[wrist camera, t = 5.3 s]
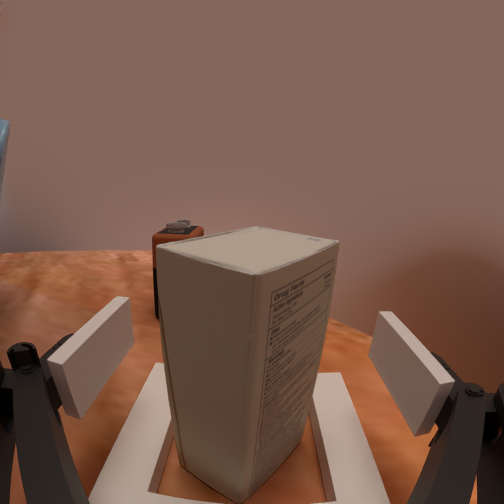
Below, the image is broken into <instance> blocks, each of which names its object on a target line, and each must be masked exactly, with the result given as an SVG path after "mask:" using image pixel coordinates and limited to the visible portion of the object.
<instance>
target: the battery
mask: <svg viewBox="0 0 504 504" xmlns="http://www.w3.org/2000/svg"><path fill="white" fill-rule="evenodd" d="M166 226H167V227H166V228H164V229H163V230H161V231H159V232H157V233H156V234H154V235H153V237H152V251H153V281H154V300H155V314H156V317H157V318H159V304H158V285H157V267H156V246H157V245H160V244H165V243H169V242H176V241H182V240H187V239H191V238H197V237H202V236H203V235H204V230H203V228H202V227H200V226H191V225H190V220H177V222H171V223H167V224H166Z"/></svg>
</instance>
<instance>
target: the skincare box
mask: <svg viewBox="0 0 504 504" xmlns="http://www.w3.org/2000/svg"><path fill="white" fill-rule="evenodd" d="M338 251H339V241H338V240H331V239H325V238H319V237H313V236H307V235H302V234H297V233H291V232H286V231H281V230H275V229H269V228H264V227H259V226H255V227H251V228H245V229H239V230H233V231H229V232H223V233H217V234H213V235H206V236H202V237H197V238H191V239H187V240H182V241H176V242H169V243H165V244H160V245H157V246H156V267H157V285H158V304H159V319H160V332H161V343H162V352H163V361H164V370H165V378H166V385H167V393H168V400H169V407H170V413H171V419H172V425H173V431H174V437H175V442H176V448H177V453H178V458H179V462H180V465H182V466H183V467H184V468H185V469H187V470H188V471H189V472H191V473H192V474H193V475H195V476H196V477H197V478H199V479H200V480H201V481H203V482H204V483H206V484H207V485H209V486H210V487H212V488H213V489H215V490H216V491H218V492H219V493H221V494H222V495H224V496H226V497H227V498H229V499H231V500H232V501H234V502H236V503H238V504H241V503H244V502H245V501H246V500H247V499H248V498H249V497H250V496H251V495H252V494H253V493H254V492H255V491H256V490H258V489H259V488H260V487H261V486H262V485H263V483H264V482H265V481H266V480H267V479H268V478H269V477H270V476H271V475H272V474H273V473H274V472H275V471H276V470H277V468H278V467H279V466H280V465H281V464H282V463H283V462H284V461H285V459H286V458H287V457H288V456H289V455H290V454H291V452H292V451H293V450H294V448H295V447H296V446H297V445H298V443H299V442H300V441H301V439H302V435H303V432H304V428H305V424H306V420H307V416H308V412H309V408H310V404H311V400H312V396H313V392H314V388H315V383H316V379H317V374H318V369H319V365H320V360H321V355H322V350H323V345H324V340H325V334H326V329H327V324H328V318H329V312H330V306H331V298H332V293H333V286H334V280H335V274H336V266H337V258H338Z"/></svg>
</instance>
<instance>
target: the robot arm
mask: <svg viewBox="0 0 504 504" xmlns="http://www.w3.org/2000/svg"><path fill="white" fill-rule="evenodd" d="M3 3H4V0H0V14H1V11H2V7H3ZM9 127H10V123H9V121H5V120H2V119H1V120H0V200H1V192H2V183H3V175H4V167H5V159H6V152H7V145H8V138H9V131H10V129H9ZM134 343H135V342H134V334H133V326H132V317H131V307H130V298H128V297H120V296H117V297H116V298H114V299H113V300H112V301H111V302H110V303H109V304H107V305H106V306H105V307H104V308H103V309H102V310H101V311H99V312H98V313H97V314H96V315H95V316H94V317H93V318H91V319H90V320H89V321H88V322H87V323H86V324H85V325H84V326H83V327H81V328H80V329H79V330H78V331H77V332H76V333H75V334H69V335H67V336H65V337H63V338H62V339H61V340H60V341H58V342H57V344H55V345H54V346H53V347H52V349H49V350H48V351H47V352H46V353H45V354H44V355H43V356H42V357H41V358H40V359H39V357H38V353H37V350H36V347H35V345H33V344H32V343H28V342H21V343H17V344H15V345H13V346H11V347H10V348H9V349H8V351H7V355H8V358H9V361H10V364H11V367H12V369H6V368H3V366H2V364H1V361H0V504H9V501H10V484H11V473H12V464H13V456H14V449H15V443H16V446H17V454H18V461H19V467H20V473H21V478H22V483H23V488H24V492H25V497H26V501H27V504H90V503H89V501H88V498H87V496H86V494H85V491H84V489H83V486H82V484H81V481H80V479H79V476H78V473H77V470H76V468H75V465H74V462H73V459H72V456H71V453H70V450H69V446H68V443H67V440H66V436H65V433H64V429H63V425H62V421H61V417H60V414H59V412H58V409H59V407H60V406H61V405H62V406H63V408H64V411H65V413H66V415H69V416H72V417H74V418H77V419H80V420H81V419H82V418H83V416H84V415H85V413H86V412H87V410H88V409H89V407H90V406H91V404H92V403H93V401H94V400H95V398H96V397H97V395H98V394H99V393H100V391H101V390H102V388H103V387H104V385H105V384H106V382H107V381H108V380H109V378H110V377H111V375H112V374H113V372H114V371H115V370H116V368H117V367H118V365H119V364H120V363H121V361H122V360H123V358H124V357H125V356H126V354H127V353H128V351H129V350H130V349H131V347H132V346H133V344H134ZM368 356H369V358H370V359H371V361H372V363H373V364H374V366H375V368H376V369H377V371H378V373H379V375H380V376H381V378H382V380H383V381H384V383H385V385H386V387H387V388H388V390H389V392H390V394H391V395H392V397H393V399H394V401H395V402H396V404H397V406H398V408H399V409H400V411H401V413H402V415H403V417H404V418H405V420H406V422H407V424H408V426H409V427H410V429H411V431H412V433H413V435H414V437H415V436H419V435H423V434H427V433H429V432H430V431H431V429H432V427H433V425H434V423H436V425H437V426H438V428H439V429H438V430H437V432H436V434H435V436H434V437H433V439H432V441H431V442H430V444H429V447H431V448H430V451H429V454H428V456H427V459H426V461H425V464H424V466H423V469H422V471H421V474H420V476H419V478H418V481H417V483H416V485H415V487H414V490H413V492H412V494H411V496H410V498H409V500H408V502H407V504H469V502H470V498H471V494H472V491H473V486H474V482H475V478H476V474H477V504H504V383H503V384H501V385H500V386H499V388H498V390H497V392H496V393H485V391H484V389H483V388H482V387H480V386H479V385H476V384H474V383H463V381H462V380H461V379H460V378H459V377H458V376H457V375H456V373H455V372H454V371H453V370H452V369H450V367H449V366H448V365H447V364H446V363H445V362H444V360H443V359H442V358H441V357H439V356H438V355H436V354H434V353H433V352H431V353H430V352H429V351H428V350H427V349H426V348H425V347H424V346H423V345H422V344H421V342H420V341H419V340H418V339H417V338H416V337H415V336H414V335H413V334H412V333H411V332H410V331H409V330H408V329H407V328H406V327H405V326H404V324H403V323H402V322H401V321H400V320H399V319H398V318H397V317H396V316H395V315H394V314H393V313H392V312H391V311H390V312H379V313H378V318H377V322H376V327H375V331H374V335H373V339H372V343H371V347H370V351H369V355H368ZM500 432H501V433H500Z"/></svg>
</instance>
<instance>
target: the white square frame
mask: <svg viewBox="0 0 504 504" xmlns="http://www.w3.org/2000/svg"><path fill="white" fill-rule="evenodd" d="M309 415H310V420H311V425H312V429H313V434H314V439H315V444H316V449H317V454H318V459H319V464H320V469H321V474H322V480H323V485H324V490H325V495H326V501H327V502H325V503H315V504H390V502H389V499H388V496H387V493H386V490H385V487H384V485H383V482H382V479H381V476H380V474H379V471H378V468H377V465H376V463H375V460H374V457H373V455H372V452H371V449H370V447H369V444H368V442H367V439H366V436H365V434H364V431H363V429H362V426H361V423H360V421H359V418H358V416H357V413H356V411H355V408H354V406H353V403H352V401H351V398H350V396H349V393H348V391H347V388H346V386H345V383H344V381H343V378H342V376H341V374H340V373H318V374H317V379H316V383H315V388H314V392H313V396H312V400H311V404H310V408H309ZM173 436H174V431H173V425H172V419H171V413H170V407H169V400H168V393H167V385H166V378H165V370H164V364H163V363H155V365H154V367H153V369H152V371H151V373H150V375H149V377H148V379H147V381H146V383H145V384H144V386H143V388H142V390H141V392H140V394H139V396H138V398H137V400H136V402H135V404H134V406H133V408H132V410H131V412H130V414H129V416H128V418H127V420H126V422H125V424H124V426H123V428H122V430H121V432H120V434H119V436H118V438H117V440H116V442H115V444H114V446H113V448H112V450H111V452H110V454H109V456H108V458H107V460H106V462H105V464H104V466H103V468H102V470H101V473H100V475H99V477H98V479H97V481H96V483H95V485H94V487H93V490H92V492H91V494H90V496H89V498H88V501H89V503H90V504H222V503H212V502H203V501H196V500H189V499H182V498H176V497H171V496H166V495H161V494H156V493H157V490H158V486H159V483H160V480H161V476H162V473H163V469H164V466H165V463H166V459H167V456H168V453H169V449H170V446H171V443H172V440H173Z"/></svg>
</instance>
